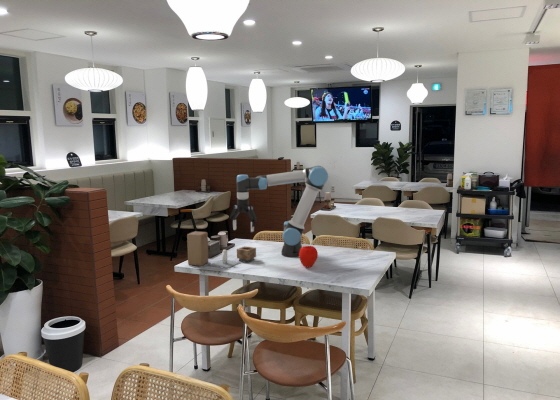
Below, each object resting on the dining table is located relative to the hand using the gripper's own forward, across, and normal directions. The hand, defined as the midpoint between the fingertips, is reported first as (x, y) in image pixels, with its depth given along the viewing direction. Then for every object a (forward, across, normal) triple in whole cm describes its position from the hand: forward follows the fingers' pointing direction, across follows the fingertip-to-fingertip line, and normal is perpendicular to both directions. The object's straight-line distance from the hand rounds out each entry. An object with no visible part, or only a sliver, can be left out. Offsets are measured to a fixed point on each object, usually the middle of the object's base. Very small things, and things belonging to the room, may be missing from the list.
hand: (243, 230), depth 293 cm
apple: (+20, -45, -2) cm, 49 cm away
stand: (+19, -3, +2) cm, 20 cm away
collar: (+17, -3, +2) cm, 18 cm away
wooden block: (+19, +21, +22) cm, 36 cm away
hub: (+19, +5, +16) cm, 25 cm away
